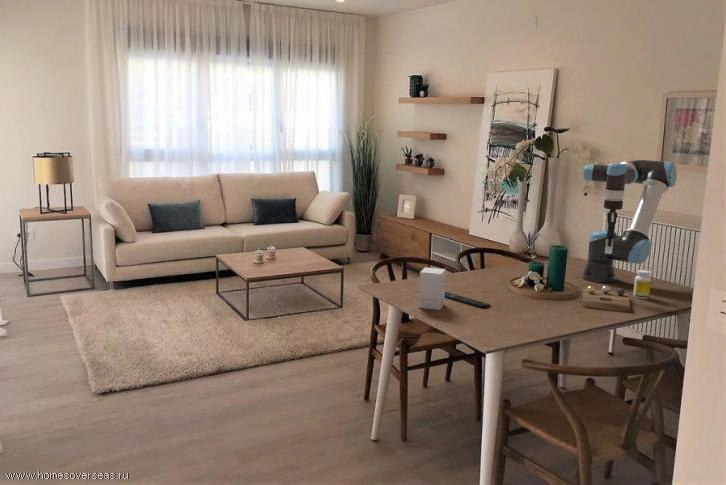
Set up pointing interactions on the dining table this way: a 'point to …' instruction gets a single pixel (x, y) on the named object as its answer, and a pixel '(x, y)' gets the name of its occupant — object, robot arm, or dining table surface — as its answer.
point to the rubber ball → (620, 291)
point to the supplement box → (432, 288)
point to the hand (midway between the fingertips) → (608, 253)
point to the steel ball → (605, 289)
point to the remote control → (466, 300)
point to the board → (606, 300)
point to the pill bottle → (642, 285)
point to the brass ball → (590, 289)
